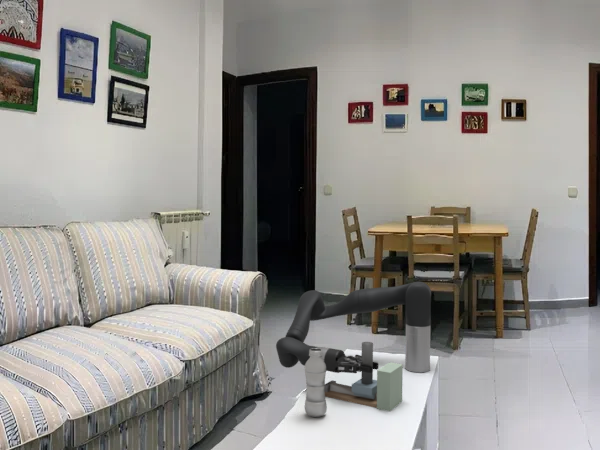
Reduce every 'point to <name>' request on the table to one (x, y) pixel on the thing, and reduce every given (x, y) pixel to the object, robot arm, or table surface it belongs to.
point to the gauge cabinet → (389, 386)
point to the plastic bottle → (315, 384)
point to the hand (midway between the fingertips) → (375, 367)
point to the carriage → (366, 374)
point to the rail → (347, 394)
